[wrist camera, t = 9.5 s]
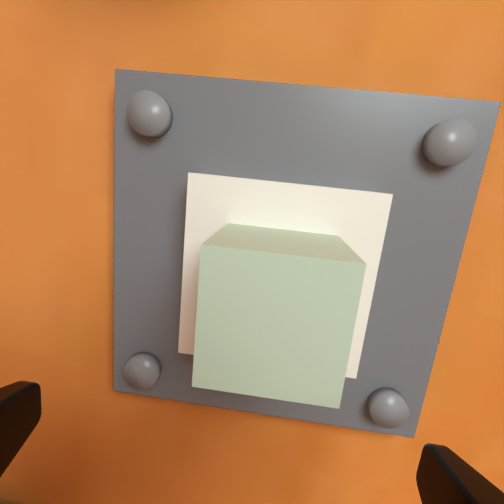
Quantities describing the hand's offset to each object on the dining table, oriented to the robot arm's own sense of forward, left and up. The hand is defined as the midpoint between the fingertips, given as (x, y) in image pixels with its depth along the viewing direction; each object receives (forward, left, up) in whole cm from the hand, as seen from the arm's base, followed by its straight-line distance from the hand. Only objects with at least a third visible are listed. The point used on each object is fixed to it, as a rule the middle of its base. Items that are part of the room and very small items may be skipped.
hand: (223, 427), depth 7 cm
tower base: (+1, -1, -12) cm, 12 cm away
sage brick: (+1, -1, -8) cm, 8 cm away
